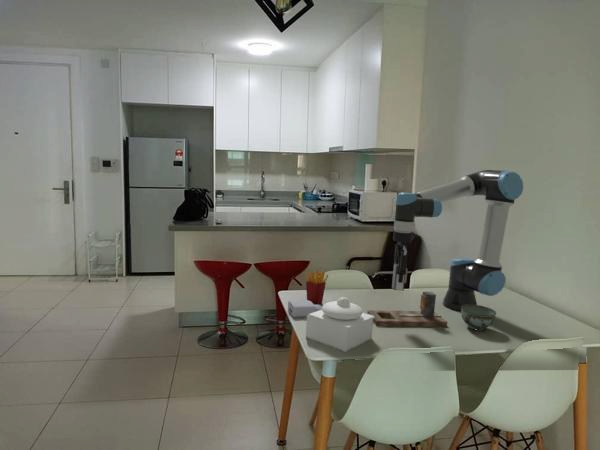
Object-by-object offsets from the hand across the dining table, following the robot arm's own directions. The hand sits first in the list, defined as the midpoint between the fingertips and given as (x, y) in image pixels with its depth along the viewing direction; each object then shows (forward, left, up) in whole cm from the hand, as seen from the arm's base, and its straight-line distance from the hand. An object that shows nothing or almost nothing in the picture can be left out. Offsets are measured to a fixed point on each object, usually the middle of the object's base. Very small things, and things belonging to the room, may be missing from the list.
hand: (397, 288), depth 187 cm
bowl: (-33, +5, -15) cm, 37 cm away
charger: (+34, -11, -15) cm, 39 cm away
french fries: (+29, -26, -15) cm, 42 cm away
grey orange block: (0, 0, 0) cm, 0 cm away
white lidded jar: (+27, +16, -15) cm, 35 cm away
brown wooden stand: (-6, -3, -15) cm, 16 cm away
